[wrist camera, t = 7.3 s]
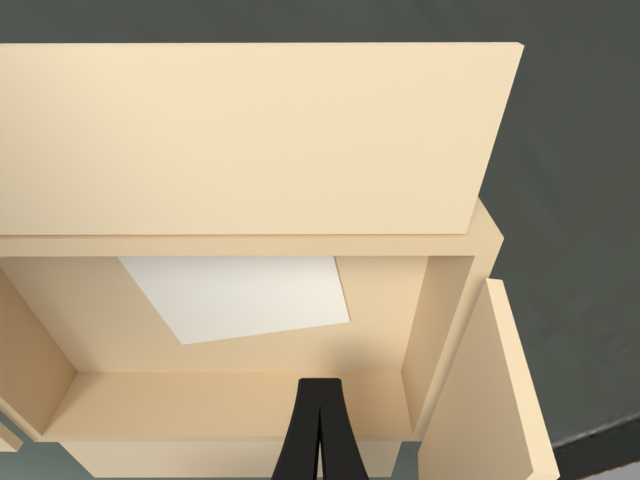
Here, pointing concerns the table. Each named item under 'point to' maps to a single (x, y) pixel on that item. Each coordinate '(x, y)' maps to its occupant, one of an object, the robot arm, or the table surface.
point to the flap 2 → (488, 405)
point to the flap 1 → (8, 440)
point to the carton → (238, 242)
